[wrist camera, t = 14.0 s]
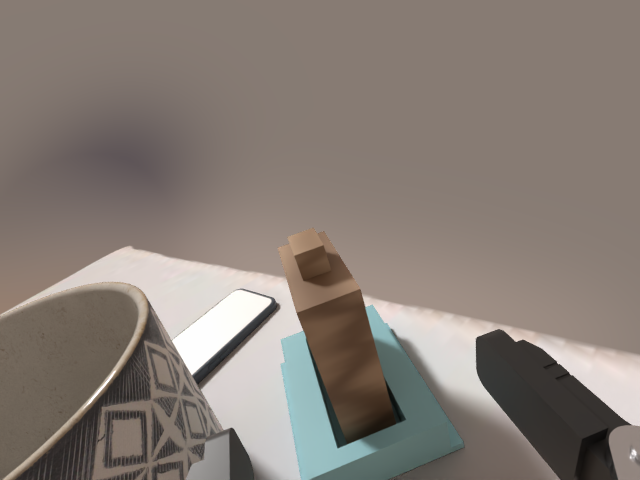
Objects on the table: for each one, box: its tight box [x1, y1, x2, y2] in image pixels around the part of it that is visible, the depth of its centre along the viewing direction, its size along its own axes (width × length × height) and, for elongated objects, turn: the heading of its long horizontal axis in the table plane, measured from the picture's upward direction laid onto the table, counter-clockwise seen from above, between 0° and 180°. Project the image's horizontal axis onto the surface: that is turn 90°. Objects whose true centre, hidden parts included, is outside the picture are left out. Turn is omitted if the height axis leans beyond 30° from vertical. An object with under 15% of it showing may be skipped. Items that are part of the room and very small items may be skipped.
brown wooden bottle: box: [278, 228, 396, 444], centre depth 27 cm, size 4×9×16 cm, turn 14°
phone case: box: [172, 289, 277, 384], centre depth 44 cm, size 9×2×16 cm
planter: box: [0, 282, 224, 480], centre depth 23 cm, size 19×19×16 cm
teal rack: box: [281, 305, 464, 480], centre depth 30 cm, size 12×14×4 cm
